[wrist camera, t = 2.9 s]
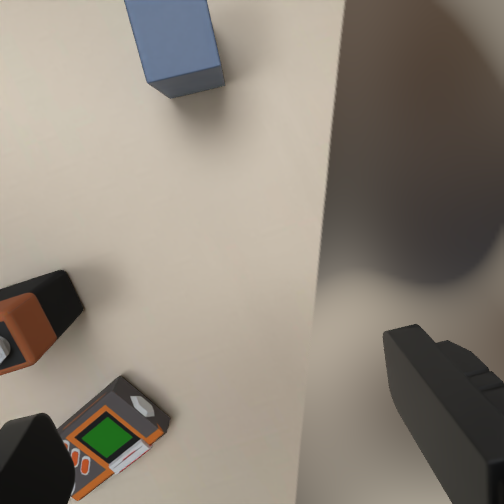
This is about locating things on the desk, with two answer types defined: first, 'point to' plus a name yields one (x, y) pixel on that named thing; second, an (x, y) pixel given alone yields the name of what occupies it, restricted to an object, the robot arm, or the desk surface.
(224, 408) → the desk surface
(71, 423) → the electronic device
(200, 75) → the blue block
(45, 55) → the desk surface
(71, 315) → the battery
